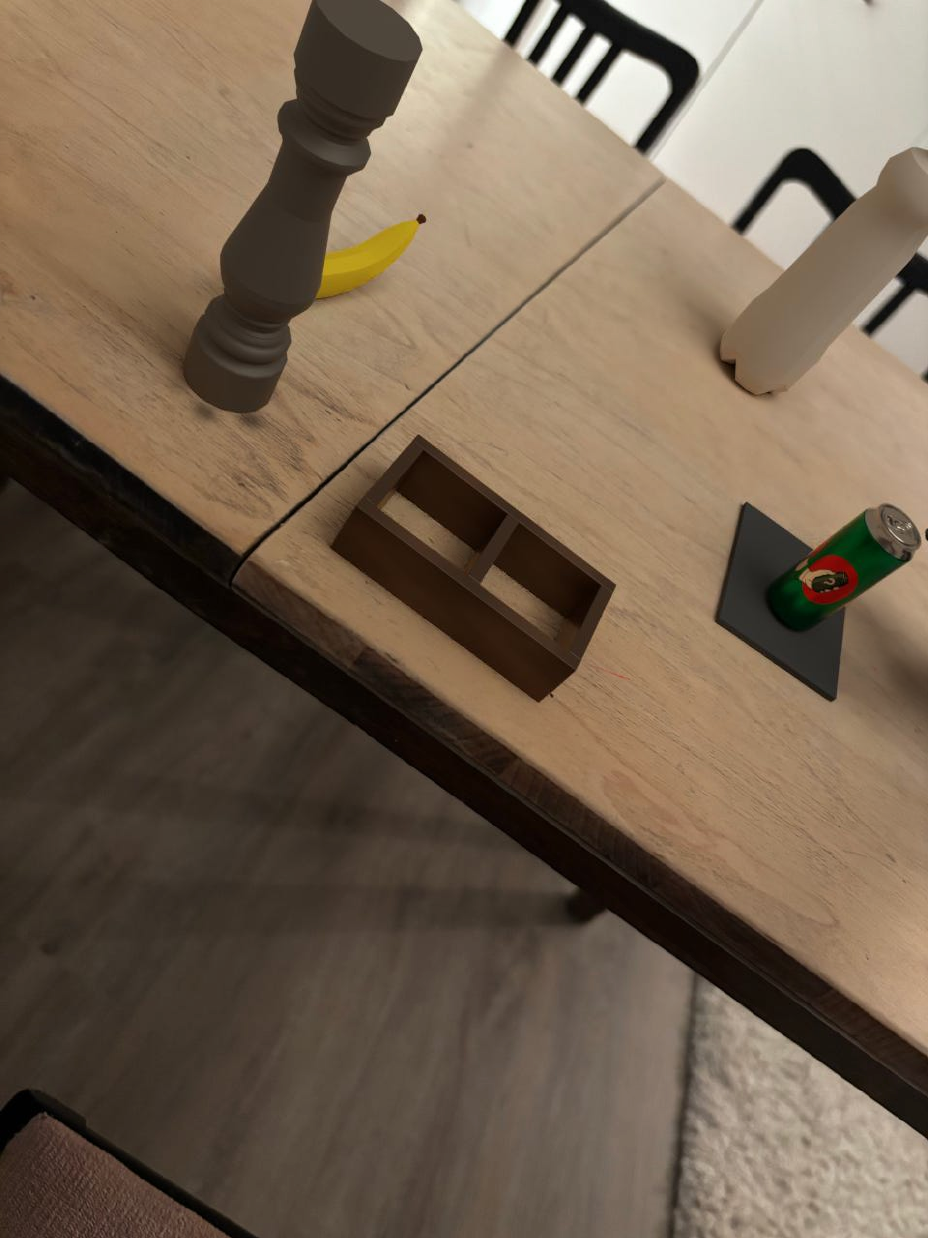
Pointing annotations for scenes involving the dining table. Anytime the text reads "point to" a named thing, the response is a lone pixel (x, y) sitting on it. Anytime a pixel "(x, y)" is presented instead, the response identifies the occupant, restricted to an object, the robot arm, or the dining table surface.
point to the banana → (366, 258)
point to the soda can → (844, 567)
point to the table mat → (750, 617)
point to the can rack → (477, 569)
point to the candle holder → (299, 197)
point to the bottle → (831, 280)
